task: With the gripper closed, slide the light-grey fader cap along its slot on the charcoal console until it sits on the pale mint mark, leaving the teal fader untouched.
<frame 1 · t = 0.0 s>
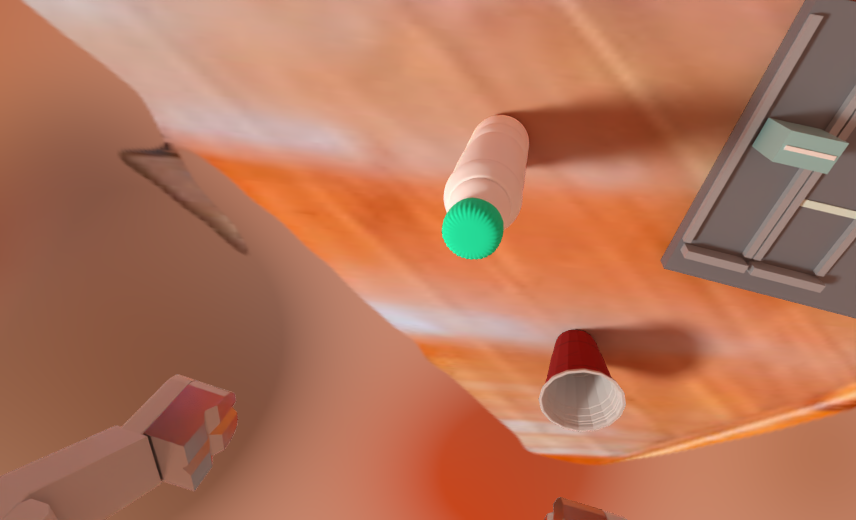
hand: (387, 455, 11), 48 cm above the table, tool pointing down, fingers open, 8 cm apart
water bottle: (500, 142, 54), on the table
fader b: (797, 145, 43), point 5 cm above the table, slide at 5.0 cm
plastic cup: (576, 342, 67), on the table
console: (835, 176, 48), on the table
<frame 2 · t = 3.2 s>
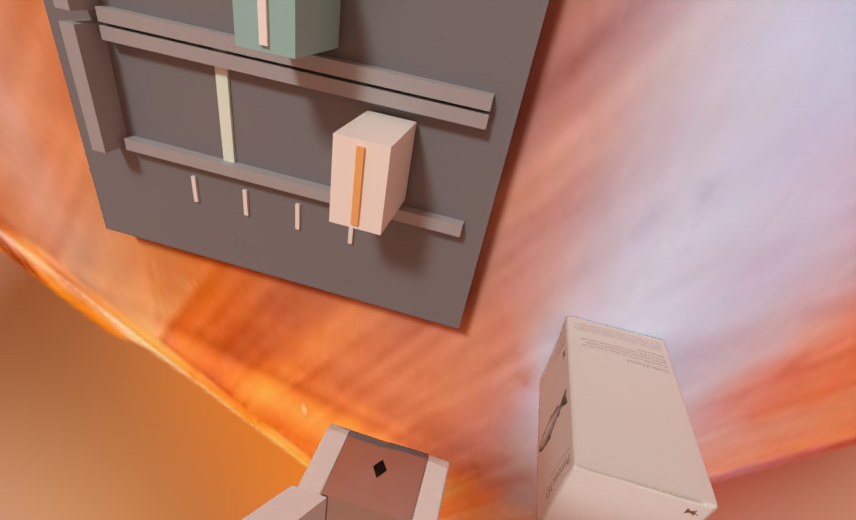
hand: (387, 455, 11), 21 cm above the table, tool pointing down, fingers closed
supplement box: (596, 358, 34), on the table
fader a: (373, 171, 25), point 5 cm above the table, slide at 0.0 cm
console: (285, 118, 30), on the table
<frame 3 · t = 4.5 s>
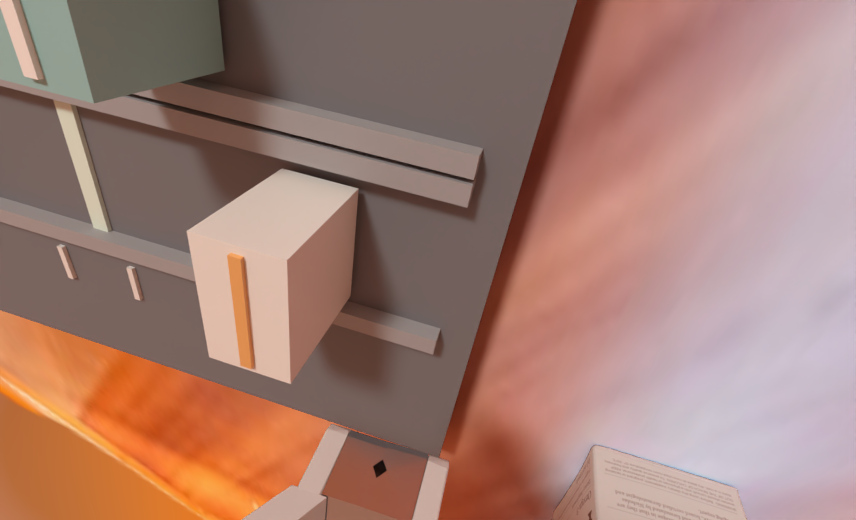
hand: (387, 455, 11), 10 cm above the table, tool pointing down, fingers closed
supplement box: (634, 495, 24), on the table
fader a: (285, 271, 15), point 5 cm above the table, slide at 0.0 cm
console: (180, 167, 20), on the table
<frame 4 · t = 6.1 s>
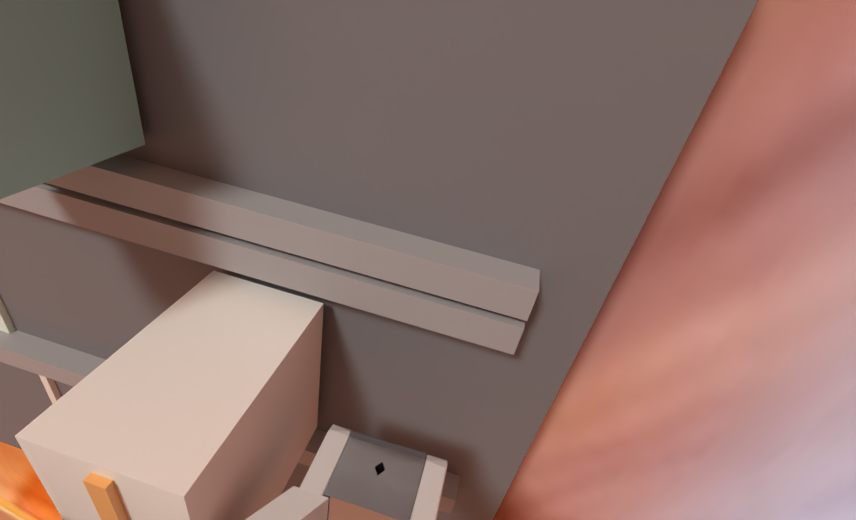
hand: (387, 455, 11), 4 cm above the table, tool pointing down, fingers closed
fader a: (212, 432, 10), point 5 cm above the table, slide at 0.7 cm, touching gripper
console: (108, 247, 15), on the table
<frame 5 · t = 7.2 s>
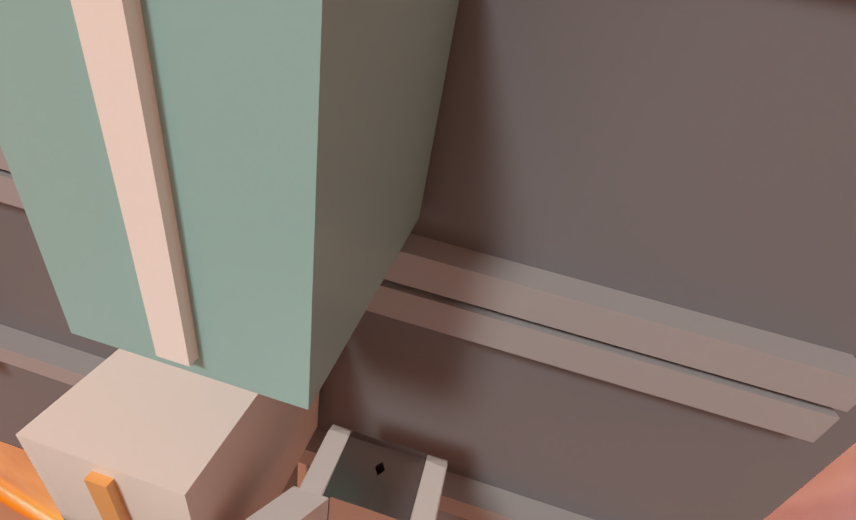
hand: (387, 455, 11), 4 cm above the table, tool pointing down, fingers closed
fader b: (290, 103, 6), point 5 cm above the table, slide at 5.0 cm
fader a: (212, 431, 10), point 5 cm above the table, slide at 7.0 cm, touching gripper
console: (278, 298, 14), on the table
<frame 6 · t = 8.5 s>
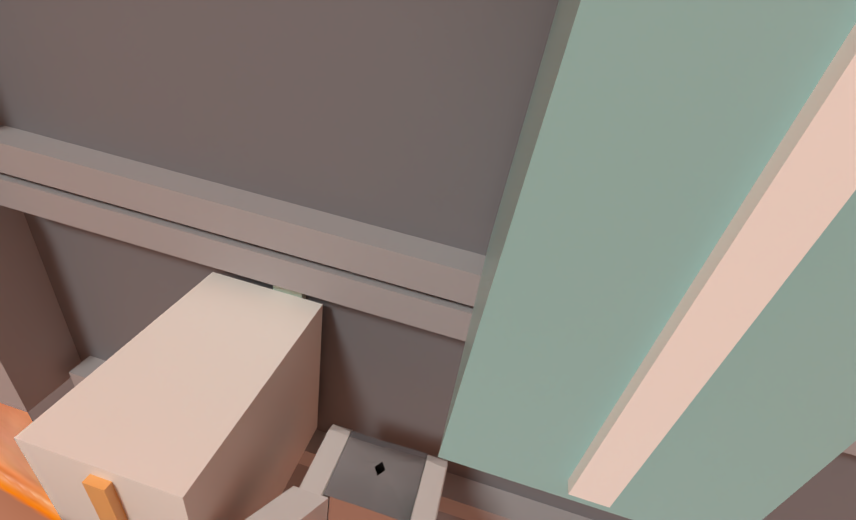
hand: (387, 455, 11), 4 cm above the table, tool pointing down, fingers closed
fader b: (641, 194, 5), point 5 cm above the table, slide at 5.0 cm
fader a: (211, 433, 10), point 5 cm above the table, slide at 11.5 cm, touching gripper
console: (409, 338, 14), on the table
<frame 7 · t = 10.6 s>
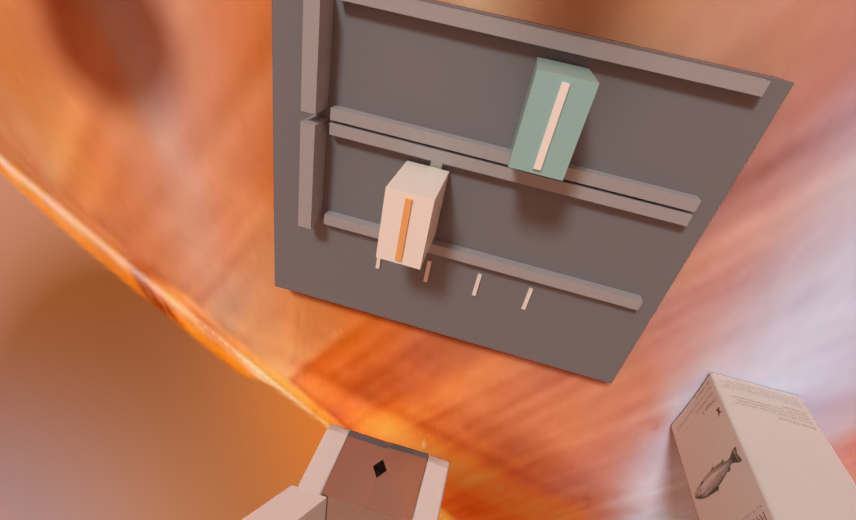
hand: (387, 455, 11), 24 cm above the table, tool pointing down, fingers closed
supplement box: (729, 408, 38), on the table
fader b: (549, 116, 24), point 5 cm above the table, slide at 5.0 cm
fader a: (413, 213, 29), point 5 cm above the table, slide at 11.5 cm
console: (473, 198, 33), on the table
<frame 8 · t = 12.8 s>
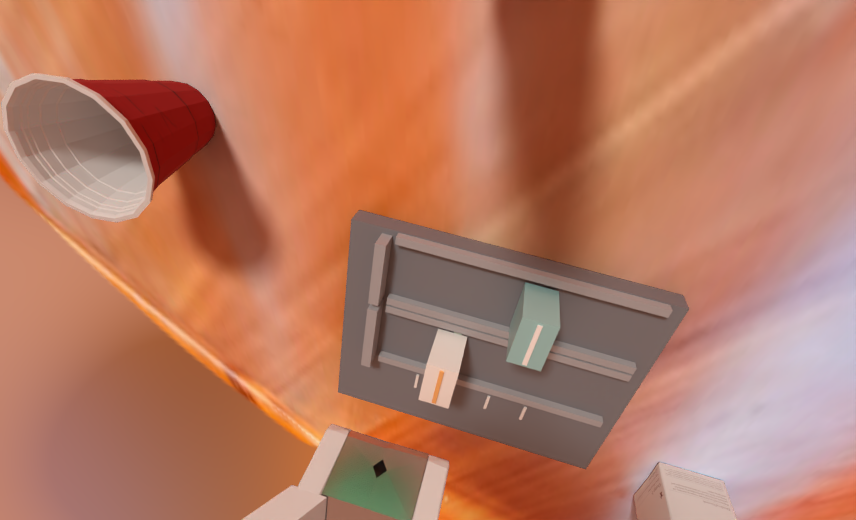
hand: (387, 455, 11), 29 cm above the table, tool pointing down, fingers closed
supplement box: (675, 485, 51), on the table
fader b: (532, 326, 38), point 5 cm above the table, slide at 5.0 cm
plastic cup: (191, 115, 41), on the table
fader a: (443, 368, 43), point 5 cm above the table, slide at 11.5 cm
console: (484, 345, 46), on the table
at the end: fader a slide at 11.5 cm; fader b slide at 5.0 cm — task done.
